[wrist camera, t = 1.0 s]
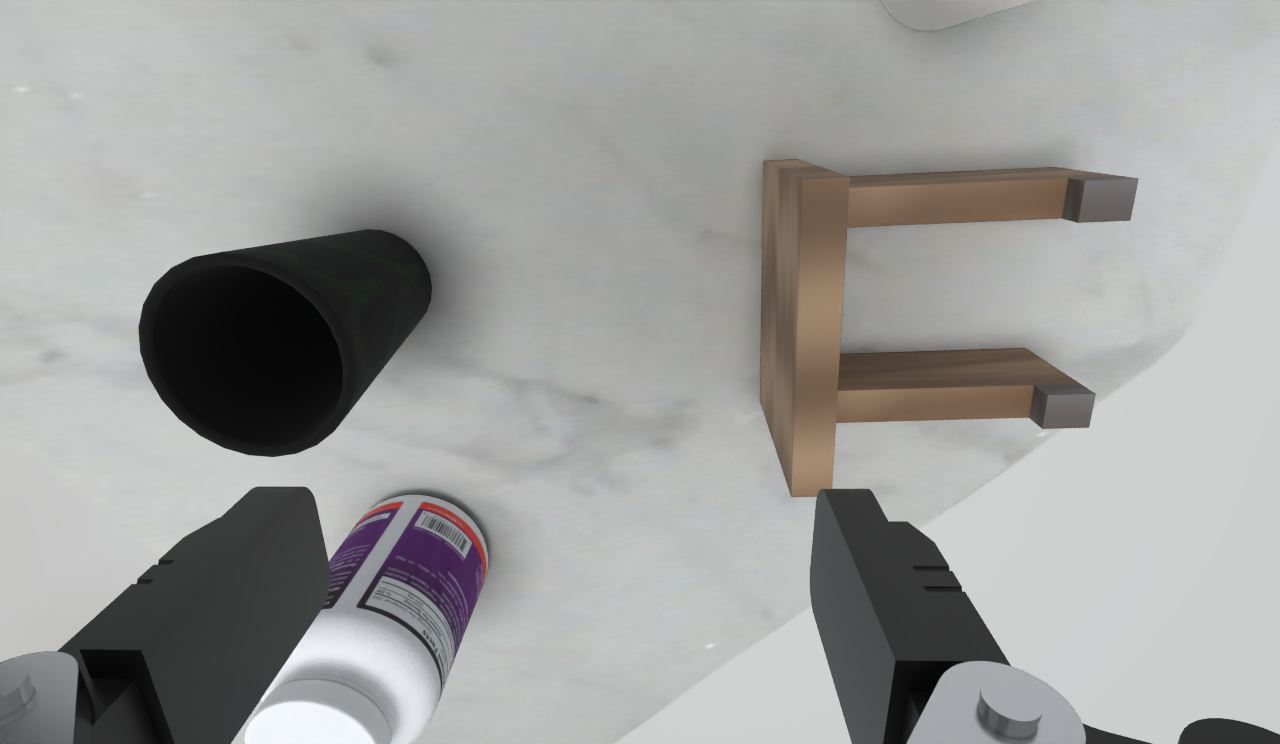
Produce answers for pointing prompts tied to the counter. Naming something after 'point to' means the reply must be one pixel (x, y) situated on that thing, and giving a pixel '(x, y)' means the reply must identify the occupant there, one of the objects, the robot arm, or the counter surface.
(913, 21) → the roll
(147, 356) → the cup
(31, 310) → the counter surface
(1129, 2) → the counter surface
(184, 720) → the robot arm
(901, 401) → the holder
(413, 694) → the pill bottle
